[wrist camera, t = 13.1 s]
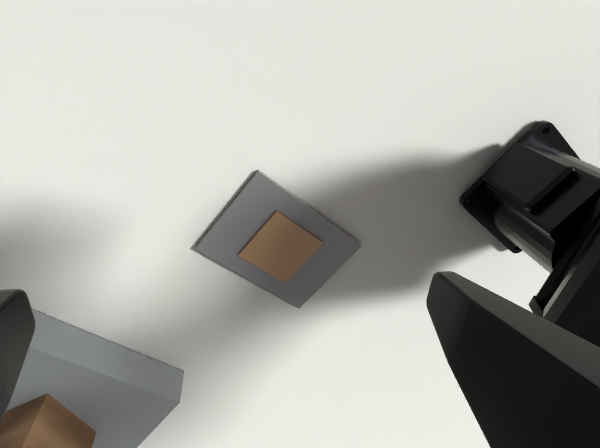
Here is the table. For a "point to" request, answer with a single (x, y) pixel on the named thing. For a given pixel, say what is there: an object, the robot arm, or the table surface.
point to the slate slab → (98, 382)
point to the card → (277, 241)
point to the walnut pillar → (44, 426)
